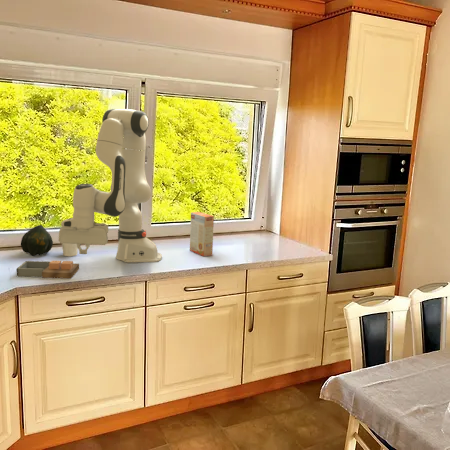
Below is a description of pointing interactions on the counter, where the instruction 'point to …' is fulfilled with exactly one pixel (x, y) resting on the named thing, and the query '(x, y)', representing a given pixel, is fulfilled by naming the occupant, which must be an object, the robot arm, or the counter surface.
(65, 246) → the white cup
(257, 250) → the counter surface
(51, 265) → the tile
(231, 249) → the counter surface
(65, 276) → the wooden board
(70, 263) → the tile
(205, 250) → the cracker box
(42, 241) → the squash
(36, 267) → the tray
